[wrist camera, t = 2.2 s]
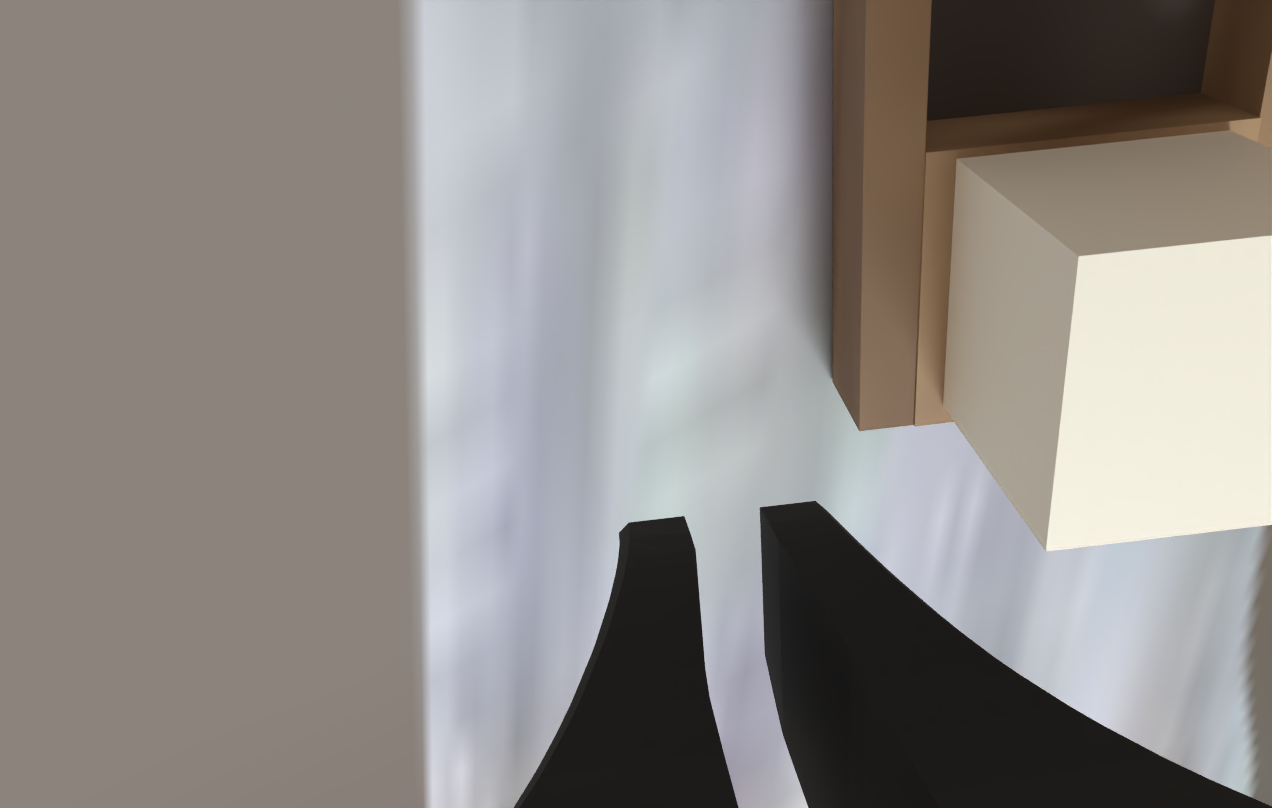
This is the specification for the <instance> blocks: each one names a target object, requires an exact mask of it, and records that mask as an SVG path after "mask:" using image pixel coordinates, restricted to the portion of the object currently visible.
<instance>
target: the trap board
mask: <svg viewBox="0 0 1272 808" xmlns="http://www.w3.org/2000/svg"><path fill="white" fill-rule="evenodd" d="M1228 130H1230V131H1233V132H1235V133H1237V134H1239V135H1242V136H1244V137H1246V138H1248V139H1251V140H1253V141H1255V142H1257V143H1259V144H1262V145H1264V146H1266V147H1268V148H1271V149H1272V0H834V8H833V383H834V385H835V387H836V389H837V391H838V393H839V394H840V396H841V398H842V400H843V402H844V404H845V405H846V407H847V409H848V411H849V413H850V415H851V416H852V418H853V420H854V422H855V424H856V426H857V428H858V429H859V431H864V430H872V429H881V428H890V427H899V426H908V425H914V426H920V425H929V424H938V423H946V422H954V421H953V419H952V418H951V417H950V415H949V414H948V412H947V411H946V409H945V408H944V407H943V397H944V379H945V361H946V342H947V324H948V306H949V288H950V270H951V251H952V233H953V215H954V197H955V179H956V160H957V159H960V158H969V157H979V156H988V155H998V154H1007V153H1017V152H1027V151H1036V150H1046V149H1055V148H1065V147H1074V146H1084V145H1094V144H1103V143H1113V142H1122V141H1132V140H1141V139H1151V138H1161V137H1170V136H1180V135H1189V134H1199V133H1208V132H1218V131H1228Z"/></svg>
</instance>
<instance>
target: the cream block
mask: <svg viewBox="0 0 1272 808" xmlns="http://www.w3.org/2000/svg"><path fill="white" fill-rule="evenodd" d="M943 407H944V408H945V409H946V411H947V412H948V414H949V415H950V417H951V418H952V419H953V421H954V422H955V424H956V425H957V426H958V428H959V429H960V431H961V432H962V434H963V435H964V436H965V438H966V439H967V441H968V442H969V443H970V445H971V446H972V448H973V449H974V450H975V452H976V453H977V455H978V456H979V458H980V459H981V460H982V462H983V463H984V465H985V466H986V467H987V469H988V470H989V472H990V473H991V475H992V476H993V477H994V479H995V480H996V482H997V483H998V484H999V486H1000V487H1001V489H1002V490H1003V492H1004V493H1005V494H1006V496H1007V497H1008V499H1009V500H1010V501H1011V503H1012V504H1013V506H1014V507H1015V508H1016V510H1017V511H1018V513H1019V514H1020V516H1021V517H1022V518H1023V520H1024V521H1025V523H1026V524H1027V525H1028V527H1029V528H1030V530H1031V531H1032V533H1033V534H1034V535H1035V537H1036V538H1037V540H1038V541H1039V542H1040V544H1041V545H1042V547H1043V548H1044V550H1045V551H1054V550H1062V549H1071V548H1079V547H1088V546H1096V545H1104V544H1113V543H1121V542H1130V541H1138V540H1146V539H1155V538H1163V537H1172V536H1180V535H1188V534H1197V533H1205V532H1214V531H1222V530H1230V529H1239V528H1247V527H1256V526H1264V525H1272V149H1271V148H1268V147H1266V146H1264V145H1262V144H1259V143H1257V142H1255V141H1253V140H1251V139H1248V138H1246V137H1244V136H1242V135H1239V134H1237V133H1235V132H1233V131H1230V130H1228V131H1218V132H1208V133H1199V134H1189V135H1180V136H1170V137H1161V138H1151V139H1141V140H1132V141H1122V142H1113V143H1103V144H1094V145H1084V146H1074V147H1065V148H1055V149H1046V150H1036V151H1027V152H1017V153H1007V154H998V155H988V156H979V157H969V158H960V159H957V160H956V179H955V197H954V215H953V233H952V251H951V270H950V288H949V306H948V324H947V342H946V361H945V379H944V397H943Z"/></svg>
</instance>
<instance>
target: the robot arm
mask: <svg viewBox="0 0 1272 808" xmlns="http://www.w3.org/2000/svg"><path fill="white" fill-rule="evenodd" d="M760 523H761V553H762V583H763V613H764V642H765V657H766V661H767V666H768V671H769V675H770V680H771V684H772V689H773V693H774V698H775V702H776V707H777V711H778V715H779V719H780V724H781V728H782V732H783V736H784V739H785V742H786V745H787V748H788V751H789V754H790V756H791V759H792V762H793V765H794V768H795V771H796V773H797V776H798V779H799V782H800V785H801V788H802V790H803V793H804V796H805V799H806V802H807V805H808V807H809V808H1272V806H1269V805H1267V804H1265V803H1262V802H1260V801H1258V800H1256V799H1253V798H1251V797H1249V796H1246V795H1244V794H1242V793H1239V792H1237V791H1235V790H1232V789H1230V788H1228V787H1226V786H1223V785H1221V784H1219V783H1216V782H1214V781H1212V780H1209V779H1207V778H1205V777H1203V776H1201V775H1199V774H1197V773H1195V772H1193V771H1191V770H1188V769H1186V768H1184V767H1182V766H1180V765H1178V764H1176V763H1174V762H1172V761H1169V760H1167V759H1165V758H1163V757H1161V756H1159V755H1158V754H1156V753H1154V752H1152V751H1150V750H1148V749H1146V748H1144V747H1142V746H1141V745H1139V744H1137V743H1135V742H1133V741H1131V740H1129V739H1127V738H1125V737H1124V736H1122V735H1120V734H1118V733H1116V732H1114V731H1112V730H1110V729H1108V728H1106V727H1105V726H1103V725H1101V724H1099V723H1098V722H1096V721H1094V720H1092V719H1091V718H1089V717H1087V716H1085V715H1084V714H1082V713H1080V712H1078V711H1077V710H1075V709H1073V708H1072V707H1070V706H1068V705H1067V704H1065V703H1064V702H1062V701H1060V700H1059V699H1057V698H1056V697H1054V696H1052V695H1051V694H1049V693H1048V692H1046V691H1045V690H1043V689H1041V688H1040V687H1038V686H1037V685H1035V684H1034V683H1032V682H1030V681H1029V680H1027V679H1026V678H1024V677H1023V676H1021V675H1019V674H1018V673H1016V672H1015V671H1013V670H1012V669H1011V668H1009V667H1008V666H1006V665H1005V664H1003V663H1002V662H1000V661H999V660H998V659H996V658H995V657H993V656H992V655H990V654H989V653H988V652H987V651H985V650H984V649H983V648H981V647H980V646H979V645H977V644H976V643H975V642H973V641H972V640H971V639H969V638H968V637H967V636H965V635H964V634H963V633H961V632H960V631H959V630H958V629H956V628H955V627H954V626H953V625H952V624H950V623H949V622H948V621H947V620H945V619H944V618H943V617H942V616H940V615H939V614H938V613H937V612H936V611H934V610H933V609H932V608H931V607H930V606H929V605H927V604H926V603H925V602H924V601H923V600H922V599H921V598H919V597H918V596H917V595H916V594H915V593H914V592H912V591H911V590H910V589H909V588H908V587H907V586H905V585H904V584H903V583H902V582H901V581H900V580H899V579H898V578H896V577H895V576H894V575H893V574H892V573H891V572H890V571H889V570H888V569H886V568H885V567H884V566H883V565H882V564H881V563H880V562H879V561H878V560H877V559H876V558H875V557H874V556H873V555H872V554H871V553H869V552H868V551H867V550H866V549H865V548H864V547H863V546H862V545H861V544H860V543H859V542H858V541H857V540H856V539H855V538H854V537H853V536H852V535H851V534H850V533H849V532H848V531H847V530H846V529H845V528H844V527H843V526H842V525H841V524H840V523H839V522H838V521H837V520H836V519H835V518H834V517H833V516H832V515H831V514H830V513H829V512H828V511H827V510H825V509H824V508H823V507H822V506H821V505H820V504H818V503H817V502H816V501H811V502H803V503H794V504H785V505H777V506H768V507H760ZM619 539H620V547H619V557H618V564H617V570H616V575H615V579H614V583H613V587H612V592H611V596H610V600H609V603H608V606H607V609H606V612H605V615H604V619H603V622H602V625H601V628H600V631H599V634H598V638H597V641H596V644H595V646H594V649H593V652H592V654H591V657H590V659H589V662H588V664H587V667H586V669H585V671H584V674H583V676H582V679H581V681H580V683H579V686H578V688H577V691H576V693H575V695H574V698H573V700H572V702H571V705H570V707H569V709H568V711H567V713H566V715H565V717H564V719H563V722H562V724H561V726H560V728H559V730H558V732H557V734H556V736H555V738H554V739H553V741H552V743H551V745H550V747H549V749H548V751H547V752H546V754H545V756H544V758H543V760H542V762H541V763H540V765H539V767H538V769H537V771H536V772H535V774H534V776H533V777H532V779H531V781H530V782H529V784H528V786H527V787H526V789H525V790H524V792H523V794H522V795H521V797H520V798H519V800H518V802H517V803H516V805H515V807H514V808H738V805H737V801H736V797H735V794H734V790H733V786H732V782H731V779H730V775H729V771H728V768H727V764H726V760H725V757H724V753H723V749H722V745H721V741H720V737H719V733H718V729H717V725H716V721H715V717H714V713H713V709H712V705H711V701H710V697H709V691H708V684H707V678H706V671H705V662H704V649H703V637H702V624H701V612H700V600H699V587H698V575H697V563H696V550H695V547H694V544H693V540H692V537H691V534H690V531H689V528H688V526H687V523H686V520H685V517H684V516H682V517H674V518H665V519H656V520H648V521H639V522H631V523H628V524H627V525H626V526H625V527H624V528H623V529H622V530H621V531H620V532H619Z"/></svg>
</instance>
